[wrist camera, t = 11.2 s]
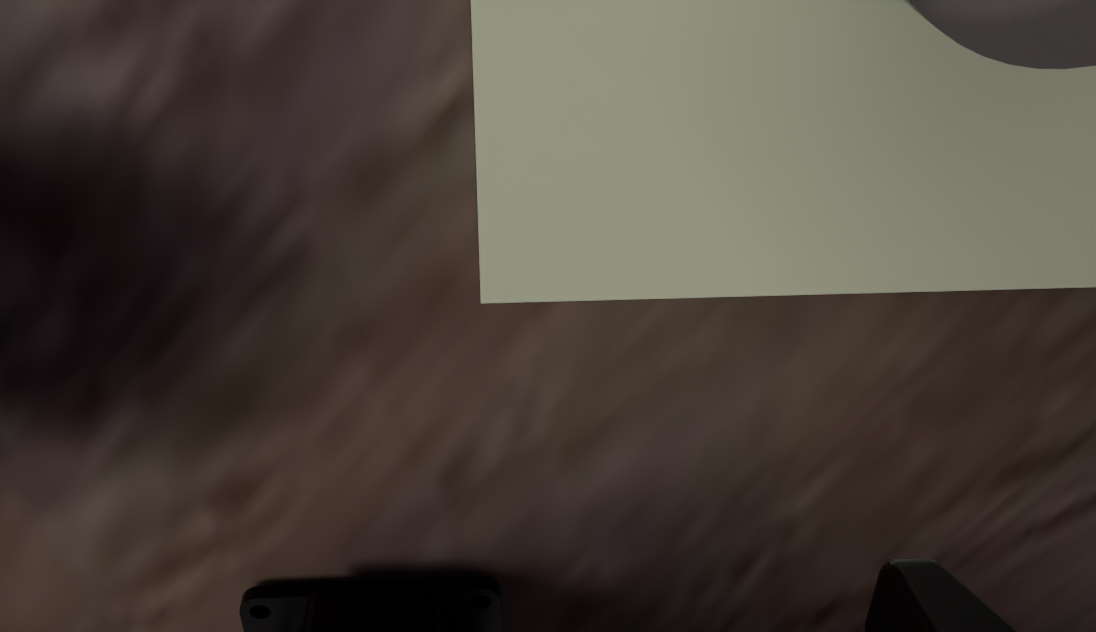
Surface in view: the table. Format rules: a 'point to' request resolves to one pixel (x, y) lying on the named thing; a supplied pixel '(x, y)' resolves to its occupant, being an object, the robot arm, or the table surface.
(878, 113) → the dial plate
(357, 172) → the table surface
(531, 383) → the table surface
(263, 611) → the robot arm
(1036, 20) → the dial
